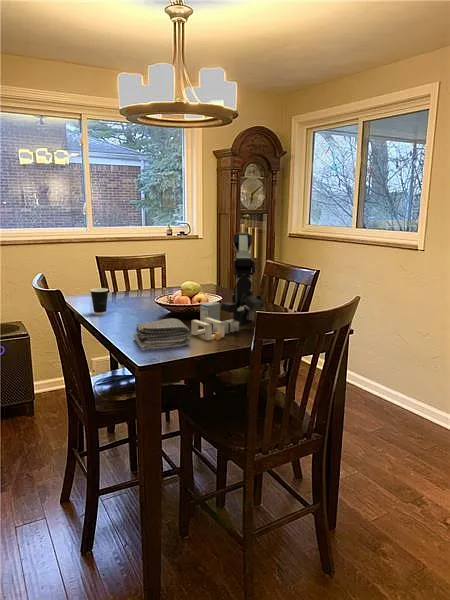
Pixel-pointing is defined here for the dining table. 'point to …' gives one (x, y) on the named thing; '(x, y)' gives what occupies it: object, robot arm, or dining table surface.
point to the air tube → (228, 326)
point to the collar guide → (208, 328)
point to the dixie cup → (99, 300)
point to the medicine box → (210, 311)
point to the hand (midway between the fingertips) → (242, 326)
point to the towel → (162, 334)
